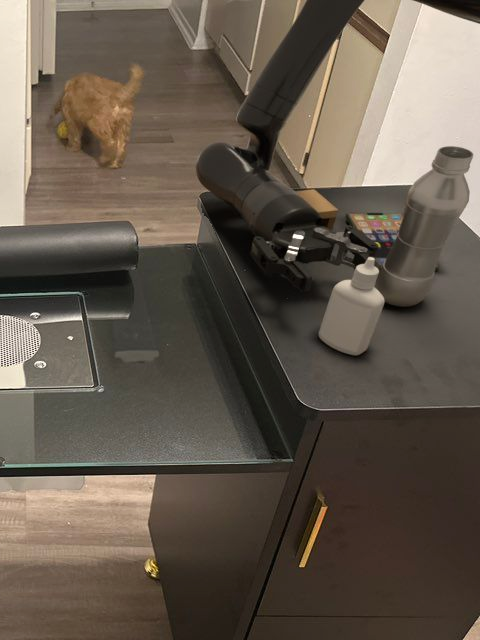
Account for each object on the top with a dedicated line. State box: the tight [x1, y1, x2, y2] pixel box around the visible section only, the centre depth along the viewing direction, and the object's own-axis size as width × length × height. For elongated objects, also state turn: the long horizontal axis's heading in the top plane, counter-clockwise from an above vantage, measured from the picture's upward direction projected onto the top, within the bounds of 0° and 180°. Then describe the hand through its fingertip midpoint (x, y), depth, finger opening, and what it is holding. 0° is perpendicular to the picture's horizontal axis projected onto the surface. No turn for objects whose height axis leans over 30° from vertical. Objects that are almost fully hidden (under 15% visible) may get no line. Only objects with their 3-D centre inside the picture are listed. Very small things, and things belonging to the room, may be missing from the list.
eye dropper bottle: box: [318, 257, 386, 356], centre depth 85 cm, size 4×6×12 cm
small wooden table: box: [294, 188, 339, 231], centre depth 108 cm, size 6×7×5 cm
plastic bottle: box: [374, 145, 474, 308], centre depth 89 cm, size 6×7×20 cm
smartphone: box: [344, 212, 440, 272], centre depth 106 cm, size 8×15×1 cm, turn 175°
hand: (342, 280), depth 87 cm, fingers open, 8 cm apart
